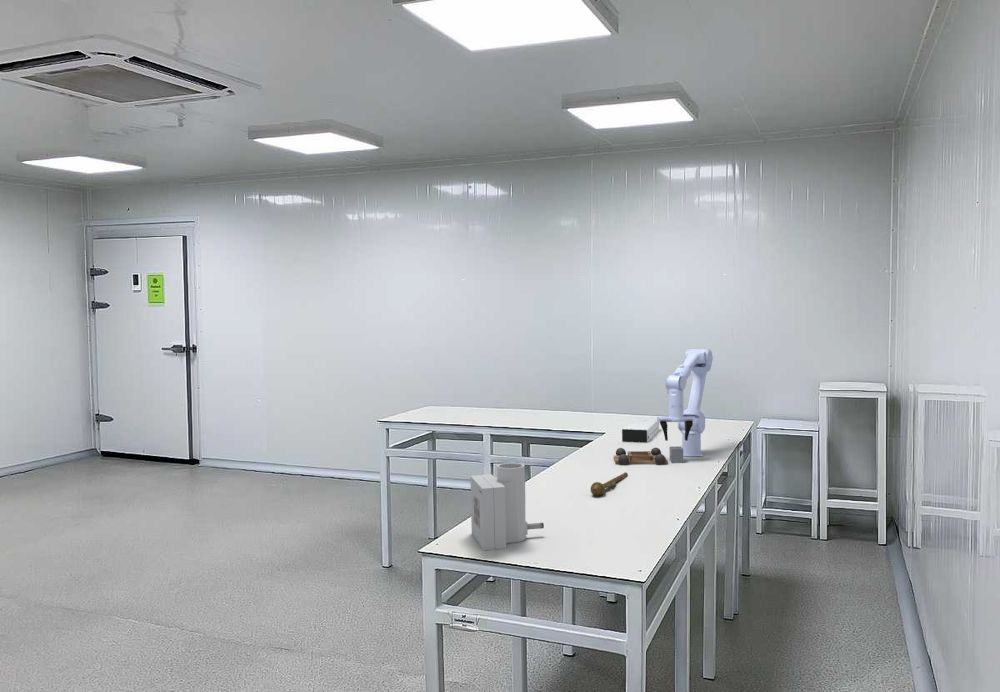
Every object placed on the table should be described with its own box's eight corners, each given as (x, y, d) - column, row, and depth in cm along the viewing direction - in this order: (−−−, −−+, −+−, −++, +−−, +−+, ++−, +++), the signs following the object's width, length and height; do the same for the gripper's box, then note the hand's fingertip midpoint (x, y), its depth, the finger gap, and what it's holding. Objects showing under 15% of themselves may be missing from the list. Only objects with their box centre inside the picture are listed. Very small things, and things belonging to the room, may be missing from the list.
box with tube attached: (470, 533, 227) (469, 462, 226) (535, 528, 232) (533, 458, 230) (482, 550, 212) (481, 474, 210) (551, 544, 216) (550, 469, 215)
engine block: (669, 460, 324) (669, 446, 324) (681, 460, 324) (680, 446, 323) (671, 463, 318) (671, 449, 318) (683, 463, 318) (683, 449, 317)
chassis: (613, 457, 331) (613, 447, 331) (663, 457, 330) (663, 447, 329) (616, 465, 316) (615, 455, 316) (668, 464, 314) (668, 454, 314)
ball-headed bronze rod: (618, 479, 298) (631, 482, 296) (587, 496, 266) (600, 499, 264) (620, 467, 298) (632, 469, 296) (588, 482, 266) (602, 485, 264)
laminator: (636, 430, 399) (635, 418, 399) (661, 431, 395) (661, 419, 394) (622, 442, 367) (621, 429, 367) (649, 443, 363) (649, 430, 362)
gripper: (658, 407, 316) (658, 442, 317) (696, 406, 315) (696, 441, 316) (656, 405, 323) (656, 439, 324) (693, 404, 322) (693, 438, 323)
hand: (676, 440), depth 320 cm, fingers open, 7 cm apart
